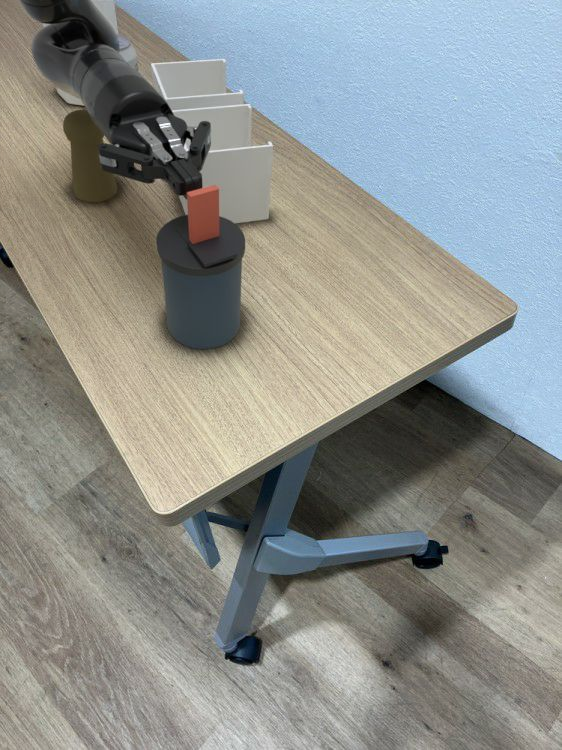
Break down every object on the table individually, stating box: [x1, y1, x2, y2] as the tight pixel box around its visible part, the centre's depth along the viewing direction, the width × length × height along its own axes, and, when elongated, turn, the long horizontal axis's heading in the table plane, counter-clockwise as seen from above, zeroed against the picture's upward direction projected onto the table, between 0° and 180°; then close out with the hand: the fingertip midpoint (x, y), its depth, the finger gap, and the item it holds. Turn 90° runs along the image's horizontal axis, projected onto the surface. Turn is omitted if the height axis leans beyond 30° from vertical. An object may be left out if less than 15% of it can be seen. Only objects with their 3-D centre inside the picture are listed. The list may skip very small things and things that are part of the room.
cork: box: [62, 109, 118, 203], centre depth 83 cm, size 6×6×11 cm
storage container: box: [150, 58, 274, 224], centre depth 87 cm, size 25×11×11 cm, turn 18°
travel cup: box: [155, 215, 246, 350], centre depth 67 cm, size 9×9×12 cm
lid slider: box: [187, 185, 237, 267], centre depth 59 cm, size 4×4×6 cm
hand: (193, 189), depth 59 cm, fingers closed
